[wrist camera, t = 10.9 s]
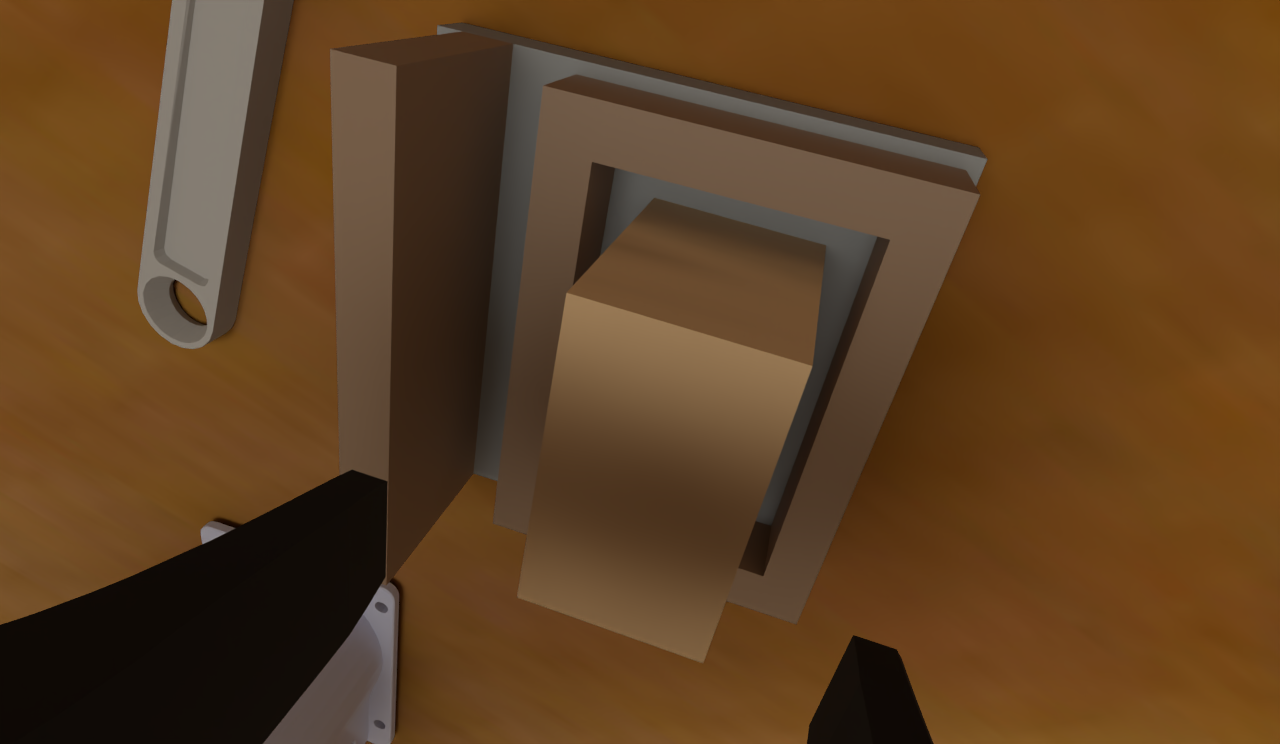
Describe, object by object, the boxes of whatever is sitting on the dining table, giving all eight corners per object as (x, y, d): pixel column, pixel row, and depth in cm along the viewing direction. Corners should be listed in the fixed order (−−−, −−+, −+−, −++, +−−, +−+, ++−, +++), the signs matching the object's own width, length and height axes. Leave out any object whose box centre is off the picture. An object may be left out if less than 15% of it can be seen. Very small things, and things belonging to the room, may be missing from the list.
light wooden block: (742, 487, 20) (703, 663, 15) (602, 442, 20) (516, 597, 15) (826, 245, 16) (812, 366, 11) (654, 197, 17) (566, 292, 12)
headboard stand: (811, 553, 22) (797, 729, 17) (437, 434, 23) (319, 562, 18) (978, 147, 16) (1037, 227, 11) (462, 22, 17) (297, 41, 12)
